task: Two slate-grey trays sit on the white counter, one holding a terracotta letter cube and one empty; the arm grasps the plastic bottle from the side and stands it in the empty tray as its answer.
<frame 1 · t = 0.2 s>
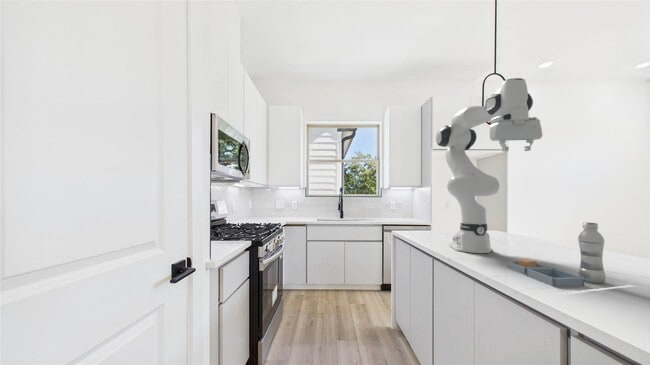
hand: (516, 151, 114), 47 cm above the worktop, tool pointing down, fingers open, 8 cm apart
blue-gray square tray: (527, 272, 105), on the worktop
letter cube: (527, 270, 105), point 1 cm above the worktop, touching blue-gray square tray
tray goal: (553, 282, 94), on the worktop
plastic bottle: (592, 283, 93), on the worktop
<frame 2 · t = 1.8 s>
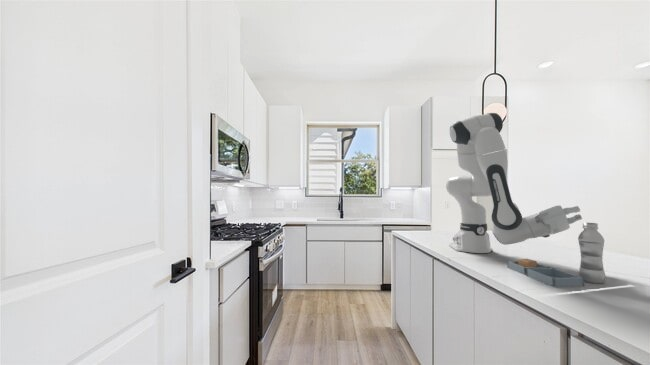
hand: (580, 212, 105), 23 cm above the worktop, tool pointing upward, fingers open, 8 cm apart
nothing on the worktop moved.
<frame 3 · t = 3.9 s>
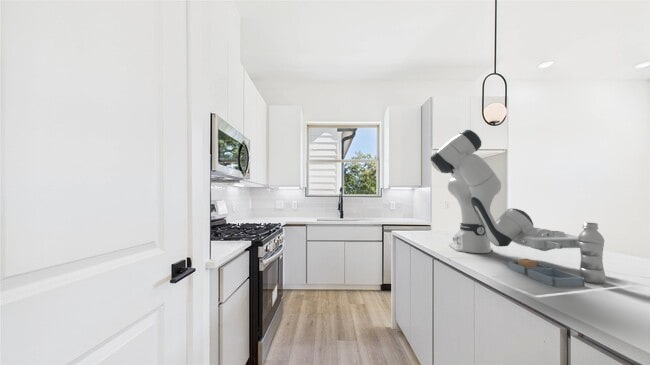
hand: (573, 246, 99), 11 cm above the worktop, tool horizontal, fingers open, 8 cm apart
nothing on the worktop moved.
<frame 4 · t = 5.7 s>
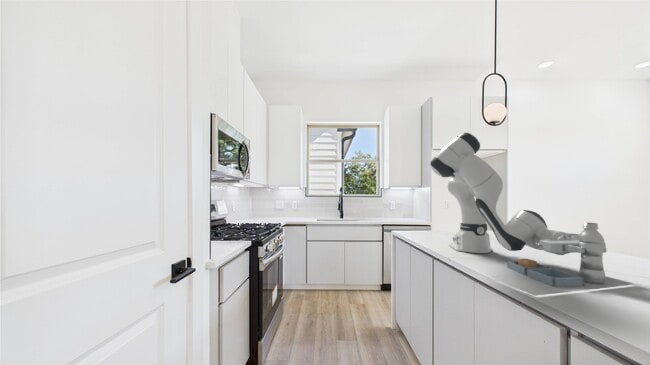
hand: (593, 250, 92), 11 cm above the worktop, tool horizontal, fingers closed on plastic bottle, 6 cm apart
plastic bottle: (592, 283, 93), on the worktop, touching gripper
everything else where it was.
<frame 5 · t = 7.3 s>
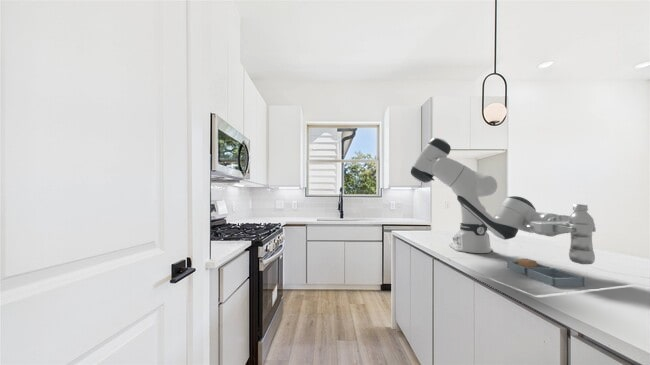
hand: (583, 229, 93), 18 cm above the worktop, tool horizontal, fingers closed on plastic bottle, 6 cm apart
plastic bottle: (581, 264, 94), point 6 cm above the worktop, touching gripper
everything else where it was.
when the fingers open (13 cm above the worktop, at t = 9.2 s): plastic bottle stays where it is, resting on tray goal.
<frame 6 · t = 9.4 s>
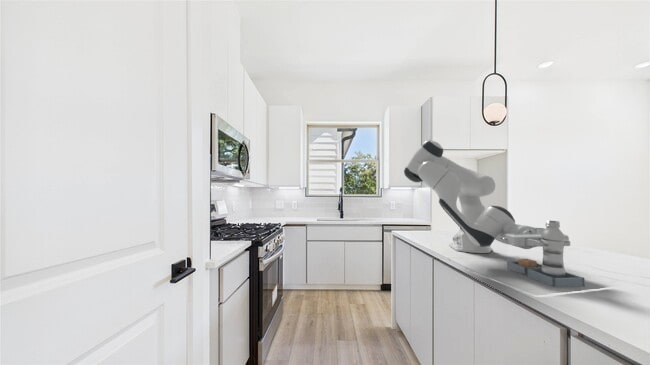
hand: (554, 243, 93), 13 cm above the worktop, tool horizontal, fingers open, 8 cm apart
plastic bottle: (553, 280, 94), resting on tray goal
everything else where it was.
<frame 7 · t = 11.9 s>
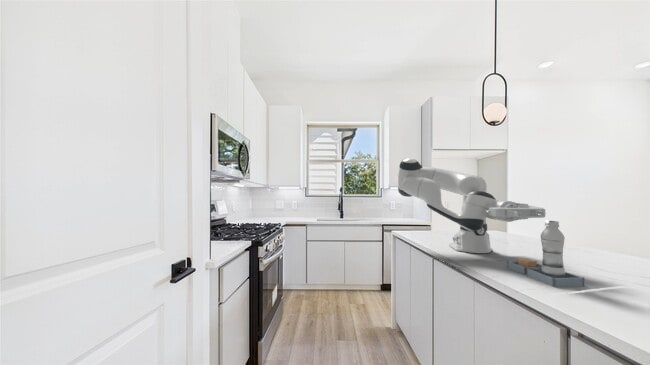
hand: (531, 214, 105), 22 cm above the worktop, tool horizontal, fingers open, 8 cm apart
nothing on the worktop moved.
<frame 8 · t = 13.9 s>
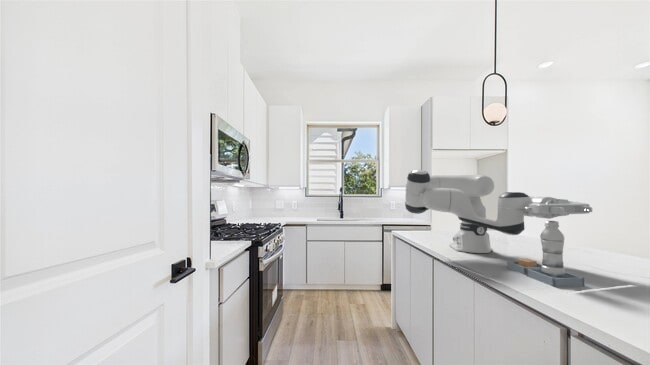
hand: (578, 209, 100), 24 cm above the worktop, tool horizontal, fingers open, 8 cm apart
nothing on the worktop moved.
at the end: plastic bottle inside the target area on the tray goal (0.3 cm from its centre), point 0.4 cm above the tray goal's base; plastic bottle tilted 0°; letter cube inside the target area on the blue-gray square tray (0.0 cm from its centre), point 0.6 cm above the blue-gray square tray's base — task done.
